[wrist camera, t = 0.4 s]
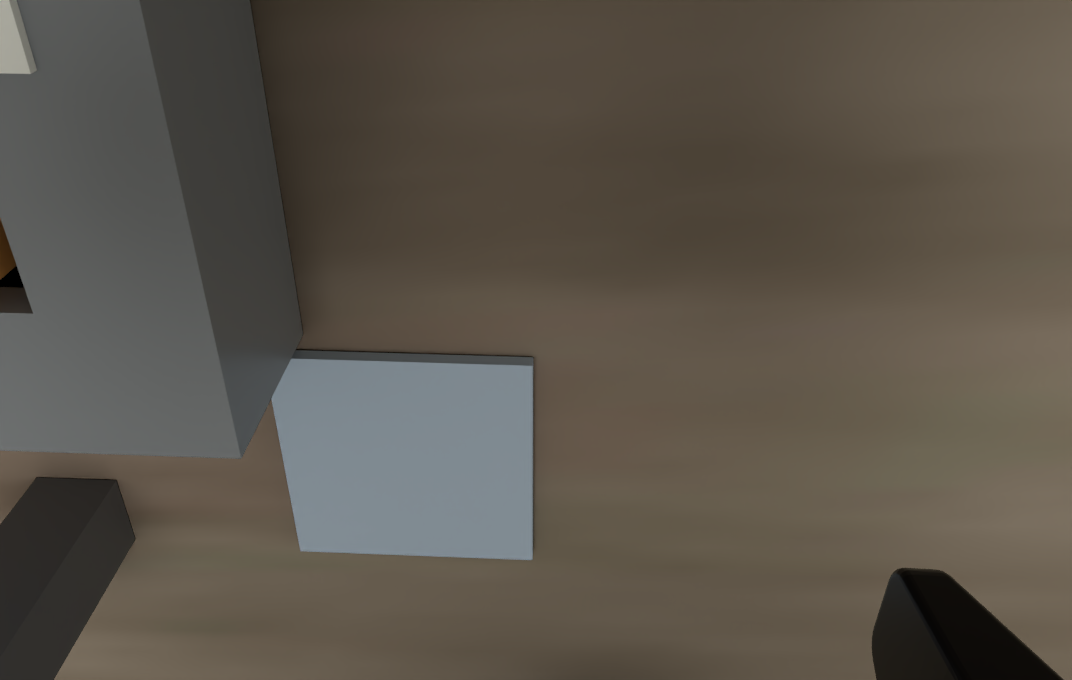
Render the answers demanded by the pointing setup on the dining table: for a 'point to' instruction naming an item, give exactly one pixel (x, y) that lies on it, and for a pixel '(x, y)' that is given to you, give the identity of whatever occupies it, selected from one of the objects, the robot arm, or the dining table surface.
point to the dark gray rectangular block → (56, 569)
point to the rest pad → (409, 453)
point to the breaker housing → (139, 229)
